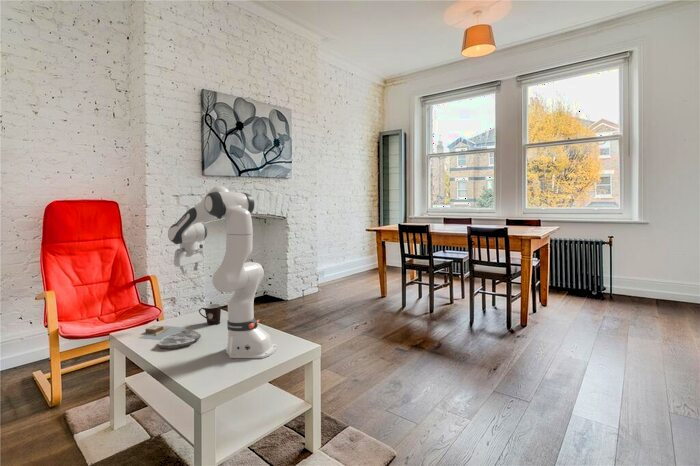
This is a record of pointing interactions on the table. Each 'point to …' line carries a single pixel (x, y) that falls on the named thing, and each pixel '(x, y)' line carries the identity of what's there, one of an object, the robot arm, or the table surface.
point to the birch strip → (161, 331)
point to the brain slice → (179, 339)
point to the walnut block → (154, 329)
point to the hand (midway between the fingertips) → (190, 272)
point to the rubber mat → (164, 333)
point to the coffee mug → (212, 313)
